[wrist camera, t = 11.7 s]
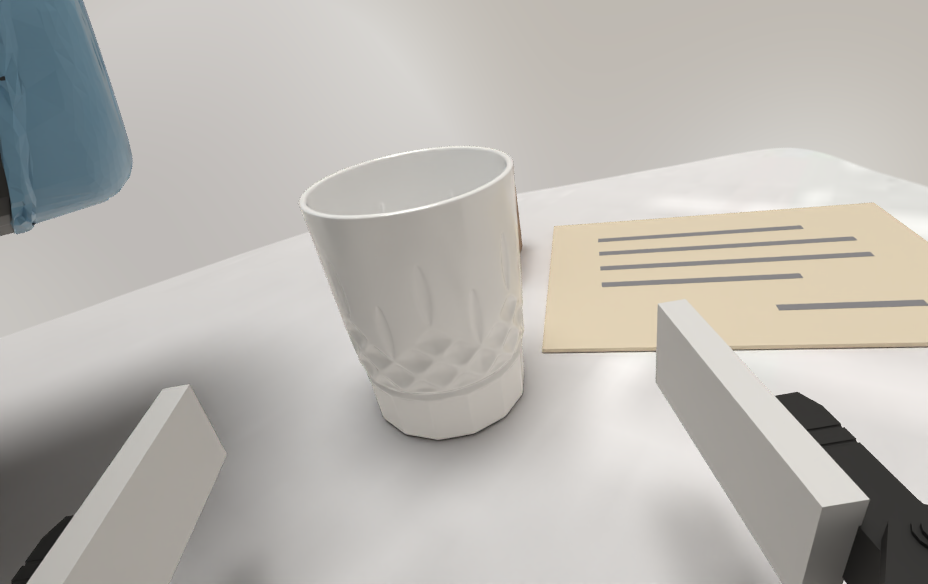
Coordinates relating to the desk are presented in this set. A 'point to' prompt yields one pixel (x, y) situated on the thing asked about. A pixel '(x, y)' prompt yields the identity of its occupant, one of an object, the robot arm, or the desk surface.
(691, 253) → the letter
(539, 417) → the desk surface
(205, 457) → the robot arm
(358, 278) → the white cup
